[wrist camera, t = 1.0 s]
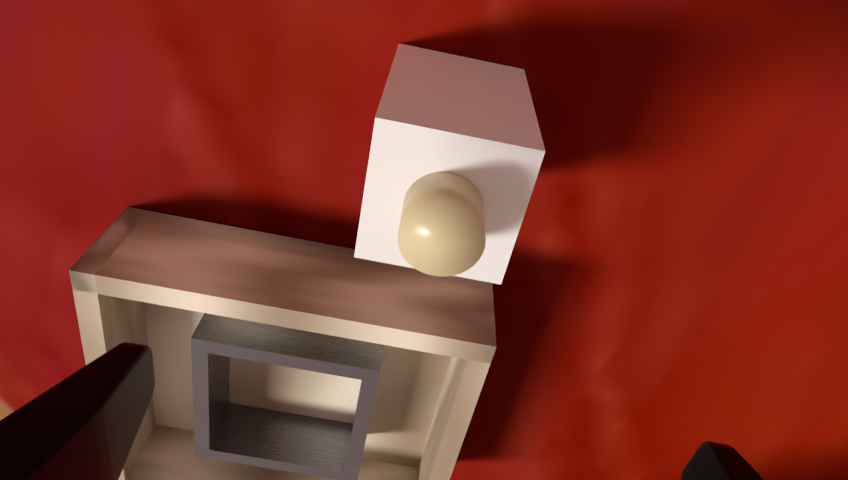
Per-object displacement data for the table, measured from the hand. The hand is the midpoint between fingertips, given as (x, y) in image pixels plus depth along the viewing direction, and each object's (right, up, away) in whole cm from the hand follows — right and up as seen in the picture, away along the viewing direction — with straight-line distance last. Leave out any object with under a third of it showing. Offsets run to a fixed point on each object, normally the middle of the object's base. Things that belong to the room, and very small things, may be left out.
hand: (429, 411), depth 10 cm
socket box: (-5, -2, +17) cm, 18 cm away
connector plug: (+1, +7, +10) cm, 12 cm away
